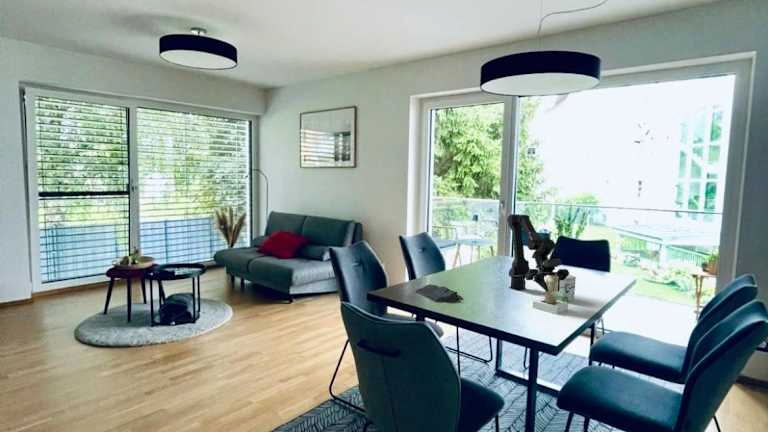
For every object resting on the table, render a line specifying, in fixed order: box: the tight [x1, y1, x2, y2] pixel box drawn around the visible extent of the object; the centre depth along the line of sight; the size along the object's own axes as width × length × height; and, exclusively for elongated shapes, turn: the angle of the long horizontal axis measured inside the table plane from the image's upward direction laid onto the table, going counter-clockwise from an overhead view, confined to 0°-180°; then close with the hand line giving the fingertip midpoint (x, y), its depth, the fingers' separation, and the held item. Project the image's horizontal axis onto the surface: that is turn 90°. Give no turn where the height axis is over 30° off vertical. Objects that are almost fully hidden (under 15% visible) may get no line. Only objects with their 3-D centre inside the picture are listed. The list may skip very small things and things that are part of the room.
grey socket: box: [532, 296, 569, 315], centre depth 190 cm, size 11×11×3 cm
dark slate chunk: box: [415, 284, 464, 304], centre depth 205 cm, size 15×22×5 cm
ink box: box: [557, 274, 577, 302], centre depth 204 cm, size 9×5×12 cm, turn 120°
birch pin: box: [544, 275, 559, 305], centre depth 190 cm, size 5×5×13 cm
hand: (552, 291), depth 188 cm, fingers closed on birch pin, 5 cm apart
